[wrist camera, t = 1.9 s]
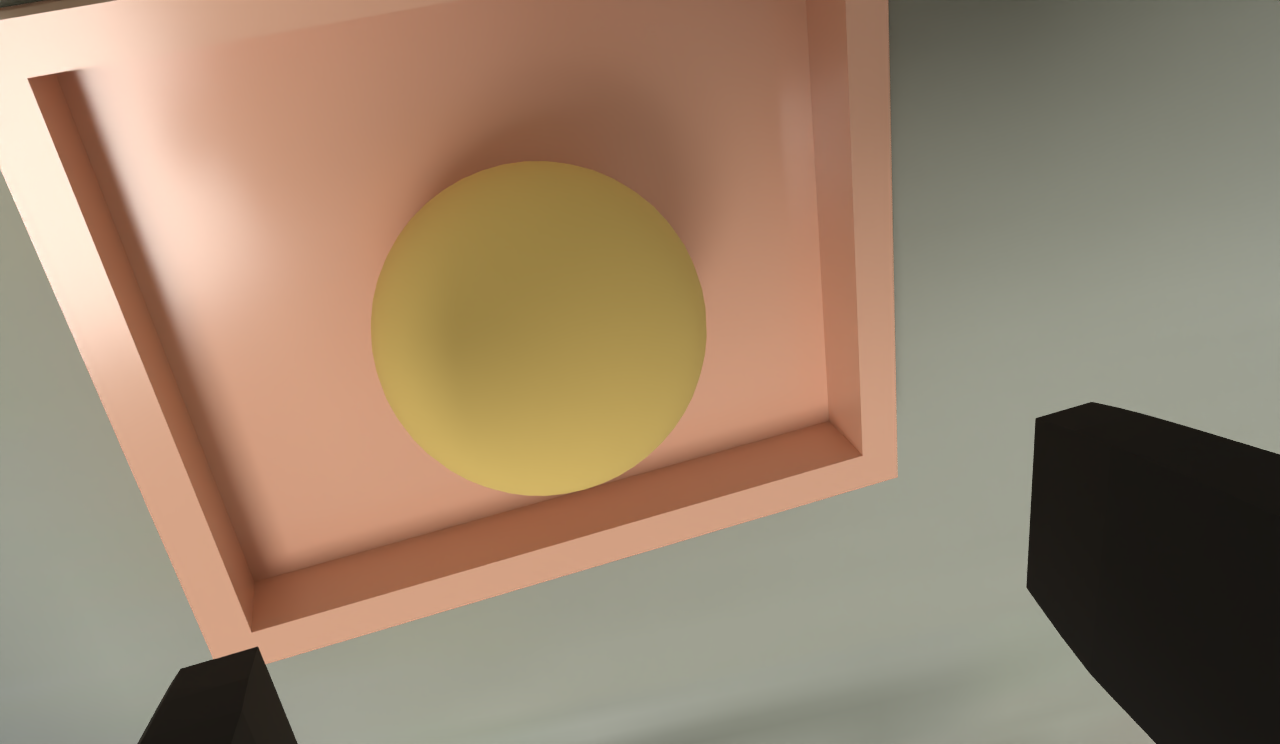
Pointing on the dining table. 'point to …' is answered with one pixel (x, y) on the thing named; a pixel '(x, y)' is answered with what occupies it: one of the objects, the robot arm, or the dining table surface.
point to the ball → (538, 328)
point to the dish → (368, 227)
